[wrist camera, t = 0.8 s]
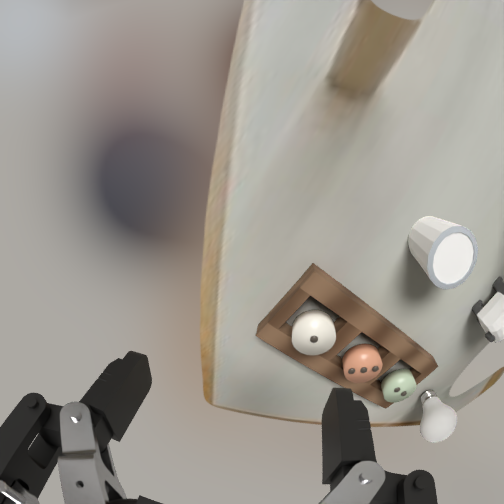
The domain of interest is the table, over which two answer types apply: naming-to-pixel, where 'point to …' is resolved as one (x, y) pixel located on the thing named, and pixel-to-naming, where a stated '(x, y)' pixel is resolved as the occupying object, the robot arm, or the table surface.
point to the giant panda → (492, 314)
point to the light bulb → (436, 418)
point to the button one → (313, 332)
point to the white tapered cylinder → (443, 250)
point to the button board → (344, 334)
